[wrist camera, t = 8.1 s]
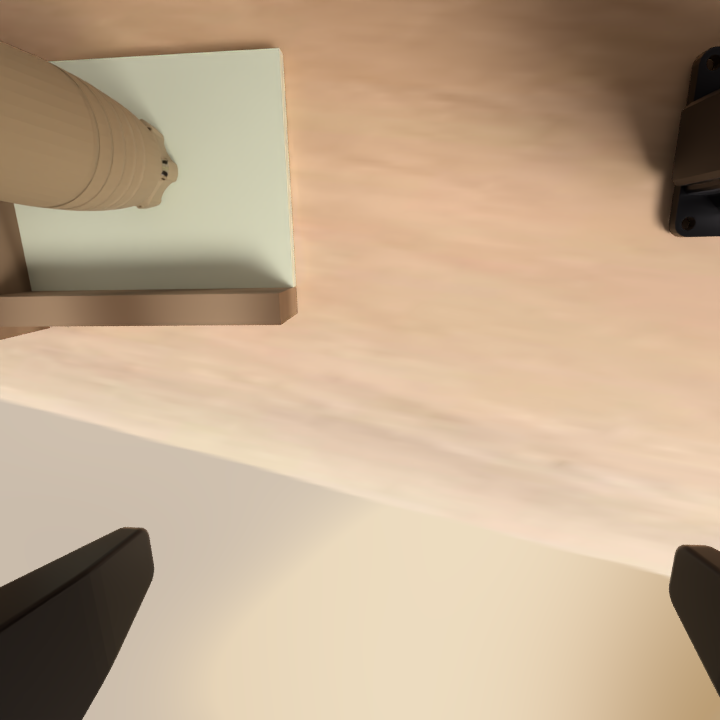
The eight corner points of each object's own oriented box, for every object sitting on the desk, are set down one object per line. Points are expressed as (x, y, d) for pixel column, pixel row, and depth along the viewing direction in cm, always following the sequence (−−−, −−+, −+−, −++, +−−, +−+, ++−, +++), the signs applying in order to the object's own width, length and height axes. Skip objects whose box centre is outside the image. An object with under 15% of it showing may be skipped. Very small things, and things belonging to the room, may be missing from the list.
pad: (283, 54, 17) (279, 47, 17) (295, 286, 20) (293, 287, 19) (-2, 70, 18) (-15, 65, 18) (42, 289, 21) (31, 291, 20)
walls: (282, 36, 17) (258, -6, 14) (298, 326, 20) (281, 339, 17) (-33, 55, 18) (-113, 20, 15) (26, 327, 21) (-33, 341, 18)
